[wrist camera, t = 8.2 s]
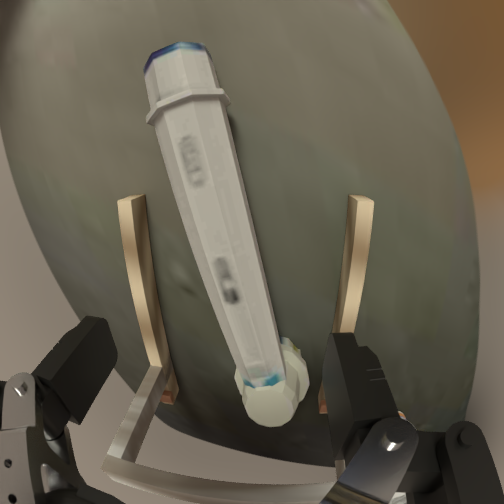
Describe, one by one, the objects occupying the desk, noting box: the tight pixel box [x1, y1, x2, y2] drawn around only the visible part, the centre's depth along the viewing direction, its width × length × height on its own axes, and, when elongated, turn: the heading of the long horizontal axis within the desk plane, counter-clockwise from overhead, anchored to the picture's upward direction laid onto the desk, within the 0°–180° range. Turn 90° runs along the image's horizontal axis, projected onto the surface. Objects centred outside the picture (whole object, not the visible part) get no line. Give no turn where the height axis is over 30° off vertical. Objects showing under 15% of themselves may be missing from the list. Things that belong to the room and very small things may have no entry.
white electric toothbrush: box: [143, 42, 310, 427], centre depth 16 cm, size 5×7×25 cm
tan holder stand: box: [101, 194, 374, 504], centre depth 14 cm, size 18×16×12 cm
